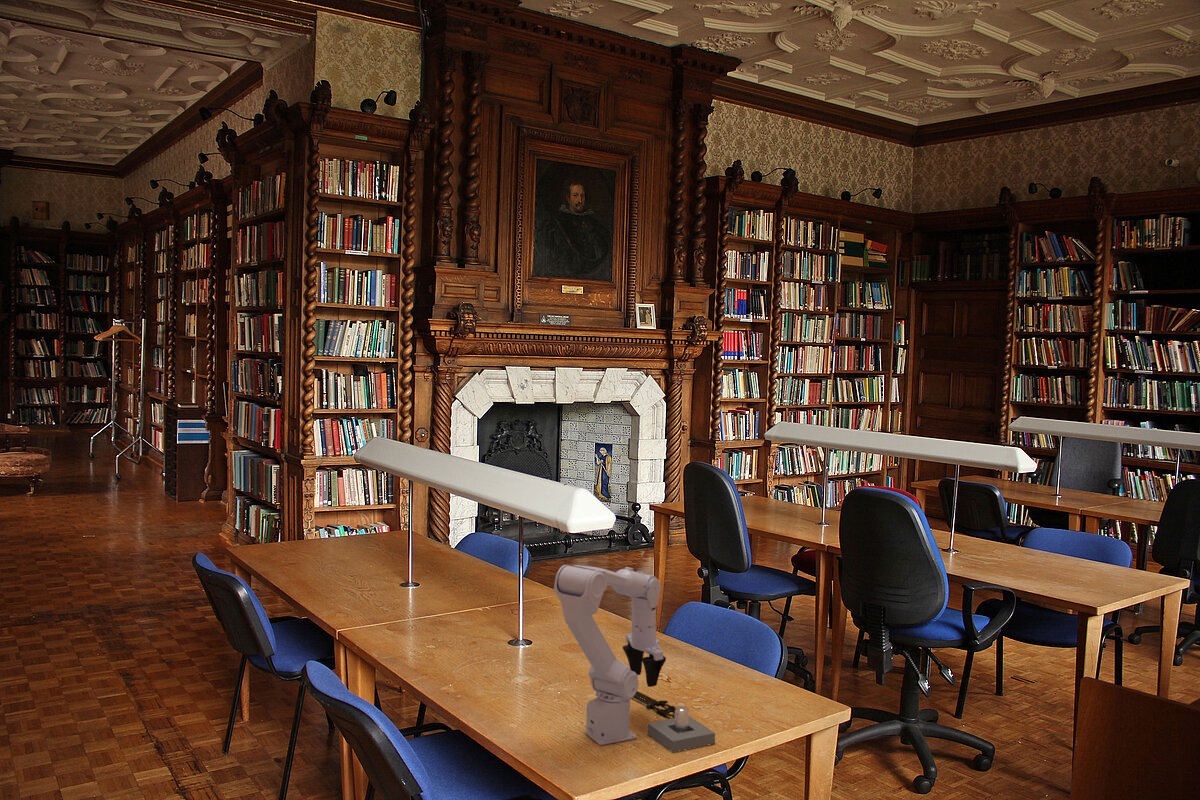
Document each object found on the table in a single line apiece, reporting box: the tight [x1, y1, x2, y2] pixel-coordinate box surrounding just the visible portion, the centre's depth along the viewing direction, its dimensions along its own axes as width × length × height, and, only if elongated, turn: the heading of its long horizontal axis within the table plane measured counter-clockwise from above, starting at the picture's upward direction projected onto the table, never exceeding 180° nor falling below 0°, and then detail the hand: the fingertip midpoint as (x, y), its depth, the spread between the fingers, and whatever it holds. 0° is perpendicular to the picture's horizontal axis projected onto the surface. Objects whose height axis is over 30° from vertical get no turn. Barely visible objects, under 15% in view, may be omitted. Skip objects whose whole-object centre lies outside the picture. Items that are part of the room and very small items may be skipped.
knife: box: [632, 690, 676, 719], centre depth 231 cm, size 25×6×1 cm, turn 30°
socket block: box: [647, 715, 716, 753], centre depth 209 cm, size 11×11×2 cm
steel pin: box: [674, 705, 689, 733], centre depth 209 cm, size 3×3×7 cm
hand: (644, 680), depth 219 cm, fingers open, 7 cm apart
